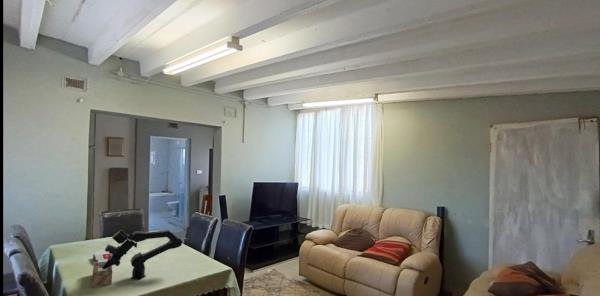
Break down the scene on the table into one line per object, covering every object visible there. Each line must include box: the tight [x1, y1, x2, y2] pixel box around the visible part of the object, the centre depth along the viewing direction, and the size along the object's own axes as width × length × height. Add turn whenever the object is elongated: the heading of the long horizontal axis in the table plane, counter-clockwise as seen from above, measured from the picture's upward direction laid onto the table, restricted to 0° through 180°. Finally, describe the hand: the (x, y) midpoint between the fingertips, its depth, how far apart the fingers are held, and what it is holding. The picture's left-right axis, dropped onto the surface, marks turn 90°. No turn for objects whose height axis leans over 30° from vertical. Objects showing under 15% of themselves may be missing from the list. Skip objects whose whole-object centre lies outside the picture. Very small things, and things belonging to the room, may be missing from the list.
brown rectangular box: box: [91, 261, 113, 288], centre depth 203 cm, size 10×22×8 cm, turn 31°
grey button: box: [98, 259, 108, 266], centre depth 208 cm, size 5×5×3 cm
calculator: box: [92, 251, 111, 263], centre depth 237 cm, size 11×4×15 cm
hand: (102, 268), depth 199 cm, fingers closed, pressing on cream button
